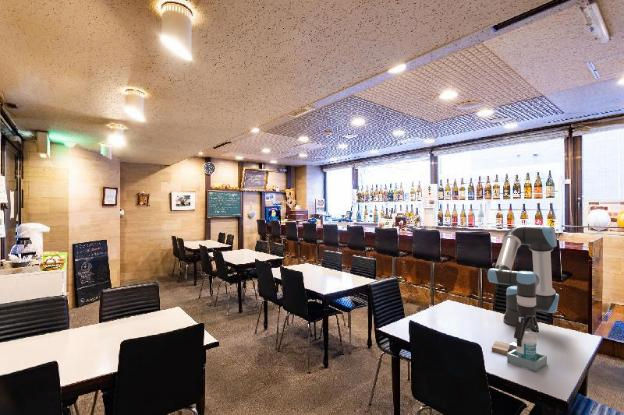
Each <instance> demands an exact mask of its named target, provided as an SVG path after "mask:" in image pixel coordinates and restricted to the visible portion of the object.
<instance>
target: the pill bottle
mask: <svg viewBox="0 0 624 415" xmlns="http://www.w3.org/2000/svg"><path fill="white" fill-rule="evenodd" d="M532 337H533V334H532V333H531V332H530V331H526V330H525V333H524V336H523V340H524V354H521V353H518V352H517V356H519V357H522V358H524V359H527V360H530V361H533V362H535V361H536V353H537V346H536V340H535V339H534V338H532Z"/></svg>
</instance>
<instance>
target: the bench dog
mask: <svg viewBox="0 0 624 415" xmlns="http://www.w3.org/2000/svg"><path fill="white" fill-rule="evenodd" d="M509 344H510V351H512V350H514V349H516V348H517V342H514V341H512V342H511V343H509ZM510 351H509V352H510Z"/></svg>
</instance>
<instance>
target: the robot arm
mask: <svg viewBox="0 0 624 415" xmlns="http://www.w3.org/2000/svg"><path fill="white" fill-rule="evenodd" d="M501 243H502V246H501V249H500V251H499V255H498V257H497V261H496V264H495V267H494V268H489V269H488V271H487V280H488V281H489V283H492V284H498V285H506V286H508V287H507V288H506V293H505V295H506V296H505V297H506V311H505V313H504V316H503V323H505V324H506V325H509V326H513V327H515V330H514V334H513V339H516V343H517V352H518V353H521V354H524V340H523V336H524V333H525V331H526V329H527V328H529V329H530V330H529V332H531V333H532V334H533V337H532V338H534V339H535V340H536V347H537V346H538V345H537V344H538V343H537V342H538V336H537V333H540V331H539V329H540V328H539V325H538V324H539V323H538V321H537V320H538V319H537V311H538V312H545V313H549V314H550V313H551V314H555V313H557V311H558V304H559V299H560V294H559V293H556V290H555V288H553V279H552V278H553V277H552V258H551V256H552V255H551V254H552V253H551V252H553V250H554V248H555V247H557V245H558V244H557V243H558V241H557V235H556V231H555V228H553V226H549V225H548V226H547V225H523V224H522V225H521V224H520V225H517V226H516V225H515V226H514V227H513V228H512V227H511V228H509V230H507V231H506V232H505V234H504V235H503V237H502V239H501ZM523 245H524V246H528V249H529V250H530V251H531V252H532V253H531V254H532V265H533V267H532V271H531V270H529V271H527V270H519V271H518V270H512V268H513V266H514V263H515V259H516V256H517V252H518V249H519V248H520V247H521V246H523Z"/></svg>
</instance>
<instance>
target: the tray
mask: <svg viewBox="0 0 624 415" xmlns="http://www.w3.org/2000/svg"><path fill="white" fill-rule="evenodd" d="M506 358H507V359H506V361H507V362H508V363H510V364H512V365H516V366H518V367H521V368H523V369H526V370H528V371H531V372H532V373H533V372H534V373H537V372H539V371H540V370H541V369H543V368H544V367H546V366H547V365H548V356H547V355H545V354H542V353H540V352H536V361H535V362H533V361H530V360H527V359H524V358H522V357H519V356H517V348H516V349H514V350H512V351H509V353H507V355H506Z"/></svg>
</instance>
